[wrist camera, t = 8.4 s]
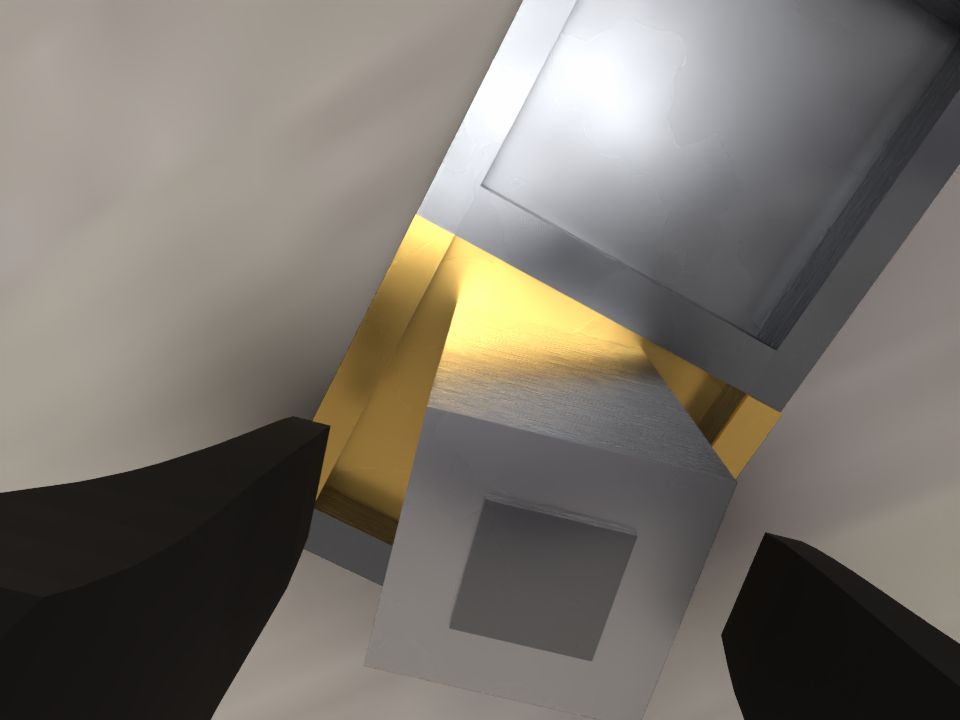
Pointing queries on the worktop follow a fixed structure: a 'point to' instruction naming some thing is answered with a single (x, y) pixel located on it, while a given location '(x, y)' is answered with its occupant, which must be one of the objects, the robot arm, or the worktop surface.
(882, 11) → the silver divided tray
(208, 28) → the worktop surface
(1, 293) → the worktop surface
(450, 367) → the brushed steel square tube
